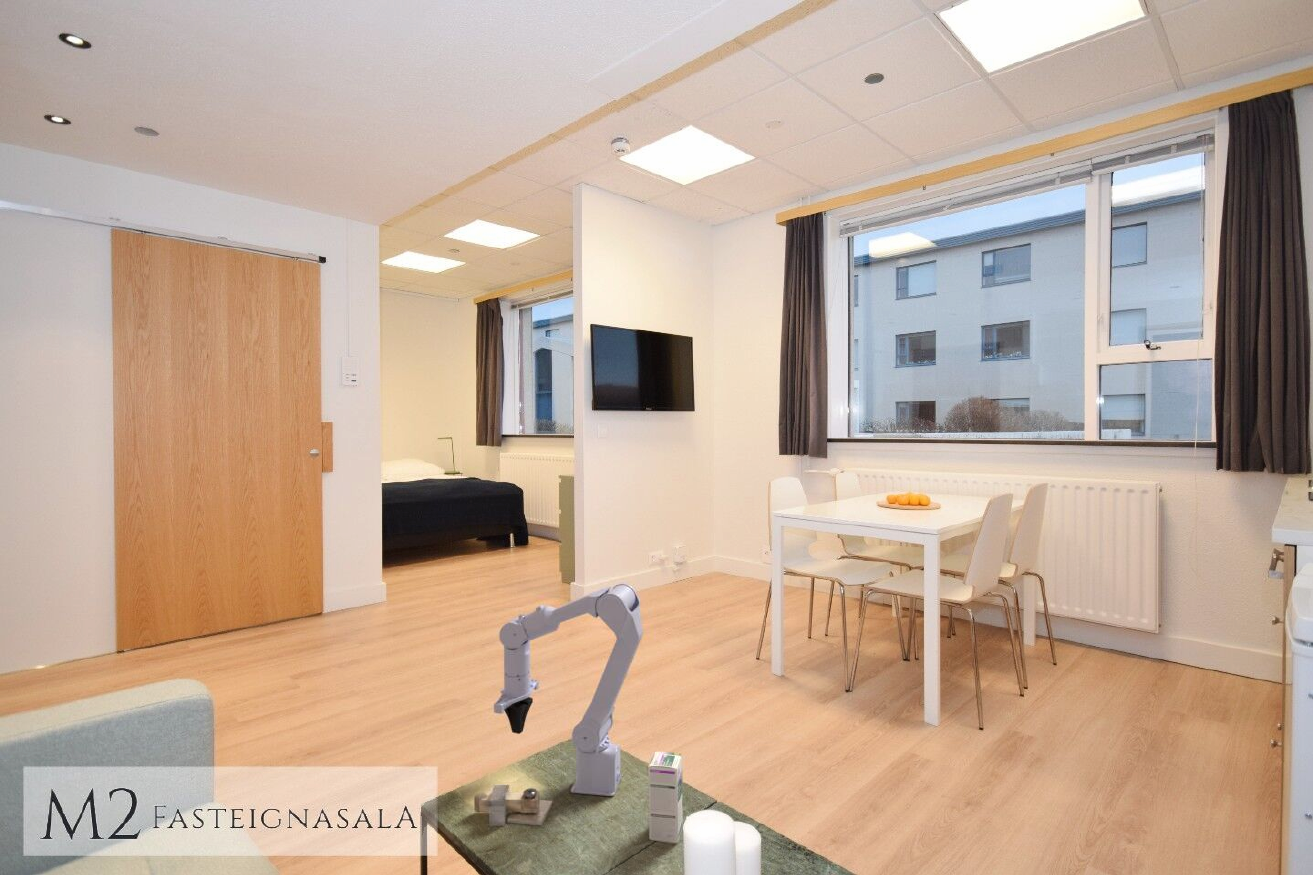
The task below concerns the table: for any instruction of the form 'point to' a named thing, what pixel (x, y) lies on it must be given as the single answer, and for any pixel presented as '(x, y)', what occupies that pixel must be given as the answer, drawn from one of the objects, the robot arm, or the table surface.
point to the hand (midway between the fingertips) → (517, 731)
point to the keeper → (498, 805)
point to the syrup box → (665, 797)
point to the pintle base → (531, 817)
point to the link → (509, 802)
